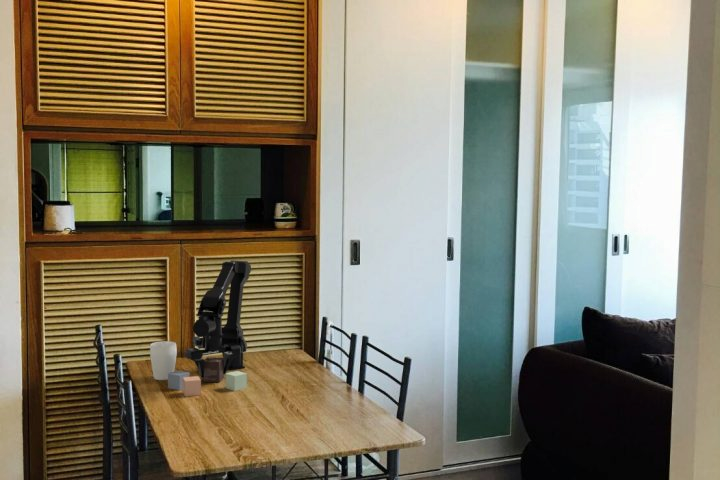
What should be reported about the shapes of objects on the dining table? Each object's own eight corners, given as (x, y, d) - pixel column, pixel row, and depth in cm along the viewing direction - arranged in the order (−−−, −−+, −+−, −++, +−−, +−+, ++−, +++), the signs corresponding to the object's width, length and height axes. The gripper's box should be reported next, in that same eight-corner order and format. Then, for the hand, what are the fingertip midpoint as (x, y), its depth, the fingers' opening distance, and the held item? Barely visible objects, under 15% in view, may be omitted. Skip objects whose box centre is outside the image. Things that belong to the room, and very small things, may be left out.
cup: (173, 381, 273) (173, 347, 272) (147, 381, 274) (146, 346, 273) (179, 374, 282) (179, 341, 281) (154, 374, 283) (154, 340, 282)
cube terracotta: (198, 391, 263) (198, 376, 262) (200, 395, 258) (200, 380, 258) (182, 392, 261) (182, 377, 261) (185, 396, 256) (185, 381, 256)
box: (224, 378, 279) (224, 357, 278) (219, 382, 273) (219, 361, 272) (207, 377, 279) (207, 356, 279) (202, 382, 273) (202, 361, 273)
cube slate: (178, 384, 270) (178, 370, 269) (189, 387, 268) (189, 372, 267) (168, 388, 266) (167, 373, 265) (179, 390, 263) (179, 375, 263)
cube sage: (237, 385, 270) (237, 370, 270) (246, 388, 267) (246, 373, 267) (225, 388, 267) (225, 373, 266) (234, 391, 263) (234, 376, 263)
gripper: (226, 324, 287) (226, 367, 288) (178, 330, 275) (178, 374, 277) (241, 329, 278) (241, 373, 279) (191, 335, 267) (191, 381, 268)
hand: (213, 375), depth 276 cm, fingers closed on box, 8 cm apart
